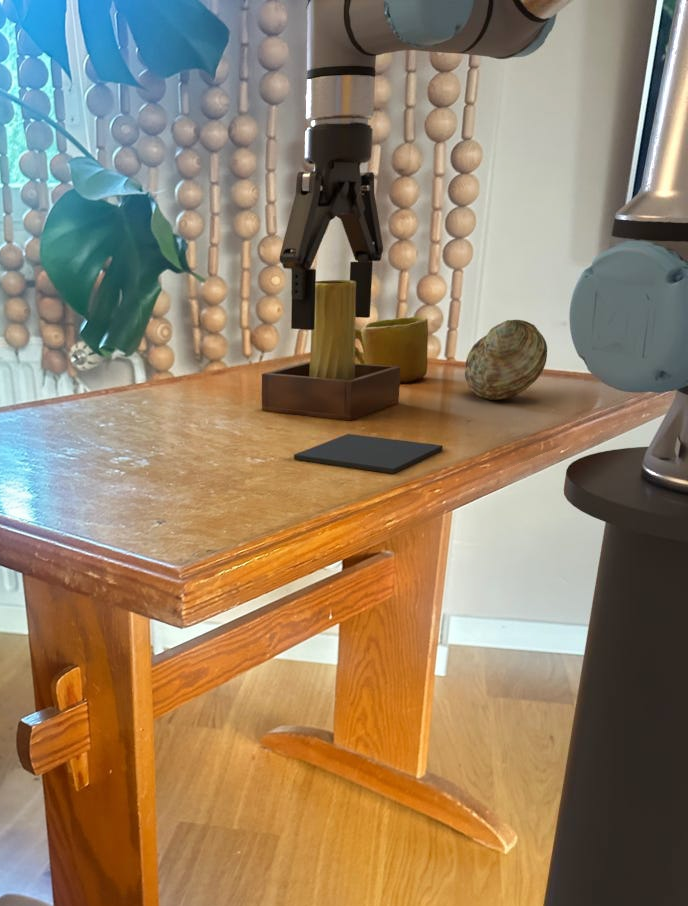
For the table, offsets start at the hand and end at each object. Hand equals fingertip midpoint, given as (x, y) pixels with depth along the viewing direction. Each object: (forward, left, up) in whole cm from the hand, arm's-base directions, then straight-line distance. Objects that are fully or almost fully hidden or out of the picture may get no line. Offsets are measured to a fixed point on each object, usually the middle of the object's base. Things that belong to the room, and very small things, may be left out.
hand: (332, 323), depth 112 cm
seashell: (-16, -16, -10) cm, 25 cm away
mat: (-16, +20, -10) cm, 28 cm away
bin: (0, 0, -10) cm, 10 cm away
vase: (0, 0, -10) cm, 10 cm away
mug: (+4, -22, -10) cm, 25 cm away
